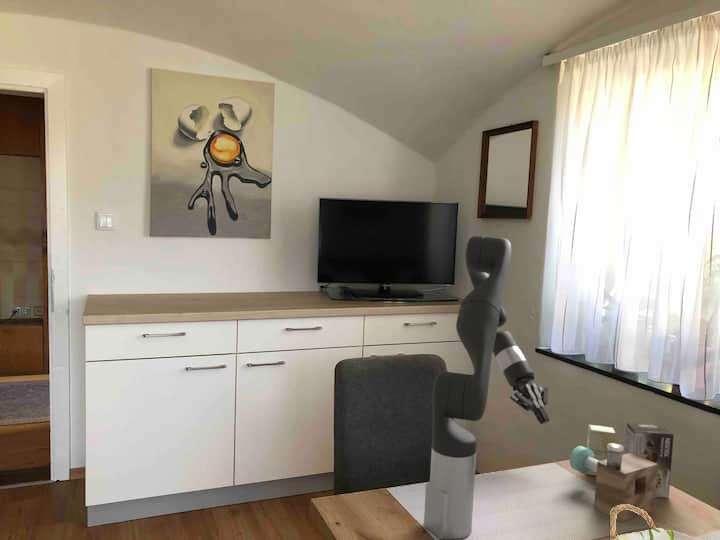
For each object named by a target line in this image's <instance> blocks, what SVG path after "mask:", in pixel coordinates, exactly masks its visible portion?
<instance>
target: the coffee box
mask: <svg viewBox="0 0 720 540" xmlns="http://www.w3.org/2000/svg"><path fill="white" fill-rule="evenodd" d="M674 437H675V436H674V433H673V432H671V431H670V429H669V428H667V426H665V425H664V424H652V423H651V424H650V423H633V422H631V423H630V422H626V430H625V443H624V454H628V453H632V454H635V455H637V456H640V457H642V458H644V459H647V460H649V461H652V462H654V463H657V464H658V470H657V481H656V492H655V498H666V499H667V498H670V490H671V489H670V487H671V475H672V473H671V472H672V471H671V470H672V460H673V447H674Z"/></svg>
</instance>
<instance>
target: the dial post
mask: <svg viewBox="0 0 720 540" xmlns="http://www.w3.org/2000/svg"><path fill="white" fill-rule="evenodd" d="M607 449H608V454H607V467H608V468H610V469H614V470H620V469H621V463H622V455H623V452H625V446H624V445H621V444H618V443H609V444H607Z"/></svg>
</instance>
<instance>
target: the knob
mask: <svg viewBox="0 0 720 540" xmlns="http://www.w3.org/2000/svg"><path fill="white" fill-rule="evenodd" d="M597 463H598V460H596V459H594V453H593V451H592V450H590V449H587V448H586V447H585V446H583V445H578V446H576V447H575V448H573V450H572V451H571V453H570V457H569V465H570V467H571V469H573V470H575V471H577V472H579V473H581V474H586V473H587V472H588V471H590V470H592V471H594V472H597Z"/></svg>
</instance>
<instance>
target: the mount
mask: <svg viewBox="0 0 720 540" xmlns="http://www.w3.org/2000/svg"><path fill="white" fill-rule="evenodd" d="M657 470H658V464H657V463H654V462H652V461H649V460H647V459H644V458H642V457H640V456H637V455H635V454H632V453H628V454H625V453H624V454H622V463H621V469H620V470H614V469H610V468H608V467H607V459H606V460H602V461H598V463H597V475H595V476H596V478H595V488H594V489H595V490H594V502H593V508H594V509H596V510H597V511H600V512H601V513H602V514H603V513H604V514H605V515H606V516H609V517H611V516H610V511H611V509H612V508H613V507H615V506H617V505H620V504H630V505H633V506H635V507H638V508H640V509H643V510H644V511H646V512H647V513H650V512H652V511H654V510H655V502H656V497H655V492H656V481H657ZM635 516H636V517H638V514H637V513H635V512H633V511H630V510H623V511H621V512H619V513H618V514H617V520H616V521H617V522H620V521H622V522H624V521H623V520H625V521H627V520H626V519H628V520H630V519H633V518H635ZM629 518H630V519H629Z"/></svg>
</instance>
